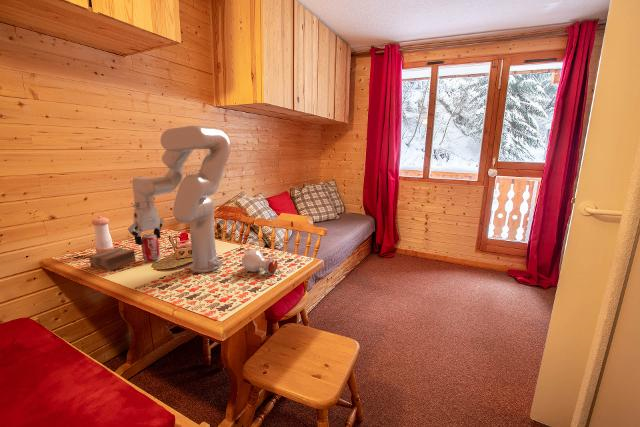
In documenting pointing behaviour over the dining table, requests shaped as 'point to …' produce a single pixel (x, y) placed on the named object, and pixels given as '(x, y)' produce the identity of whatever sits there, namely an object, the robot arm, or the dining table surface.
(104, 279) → the dining table surface
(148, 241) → the soda can
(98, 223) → the pepper shaker
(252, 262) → the potion bottle
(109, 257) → the walnut block
